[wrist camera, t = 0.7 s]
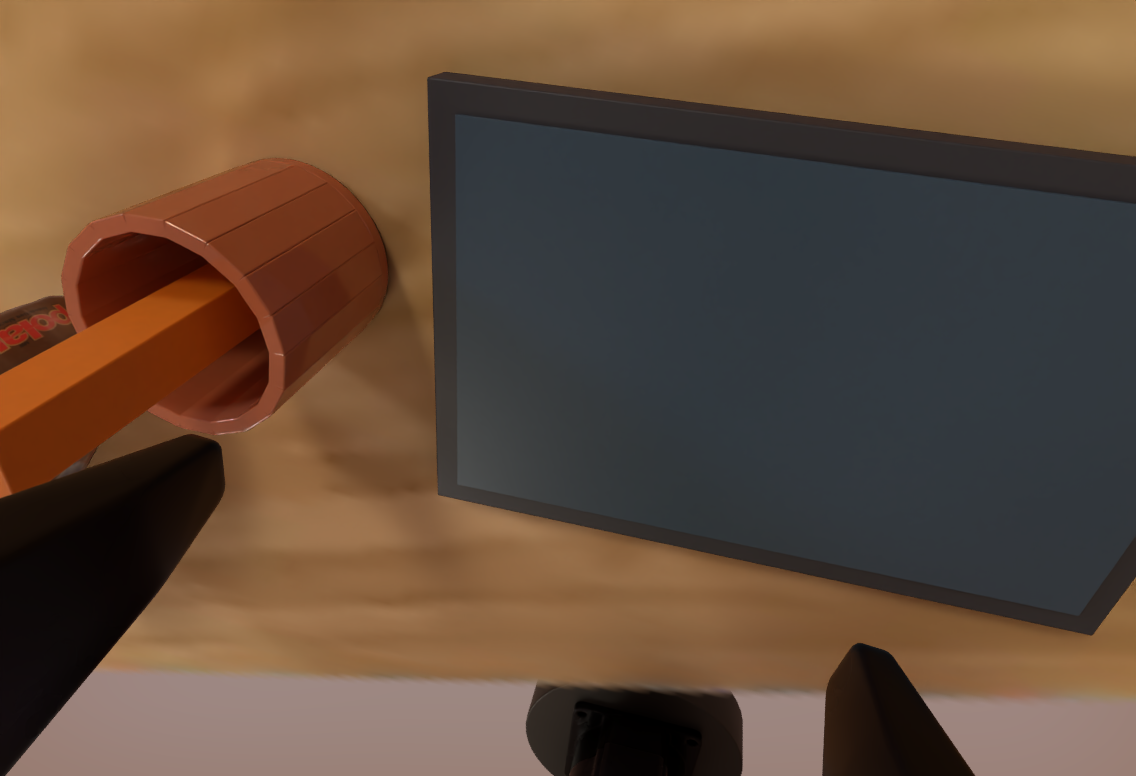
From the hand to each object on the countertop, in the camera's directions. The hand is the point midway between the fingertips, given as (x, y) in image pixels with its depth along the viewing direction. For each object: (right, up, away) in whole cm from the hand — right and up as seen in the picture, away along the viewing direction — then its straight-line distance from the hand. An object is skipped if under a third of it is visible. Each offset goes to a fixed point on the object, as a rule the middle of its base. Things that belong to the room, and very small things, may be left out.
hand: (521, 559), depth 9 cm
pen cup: (-8, +7, +13) cm, 17 cm away
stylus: (-8, +6, +13) cm, 16 cm away
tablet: (+7, +3, +11) cm, 14 cm away
